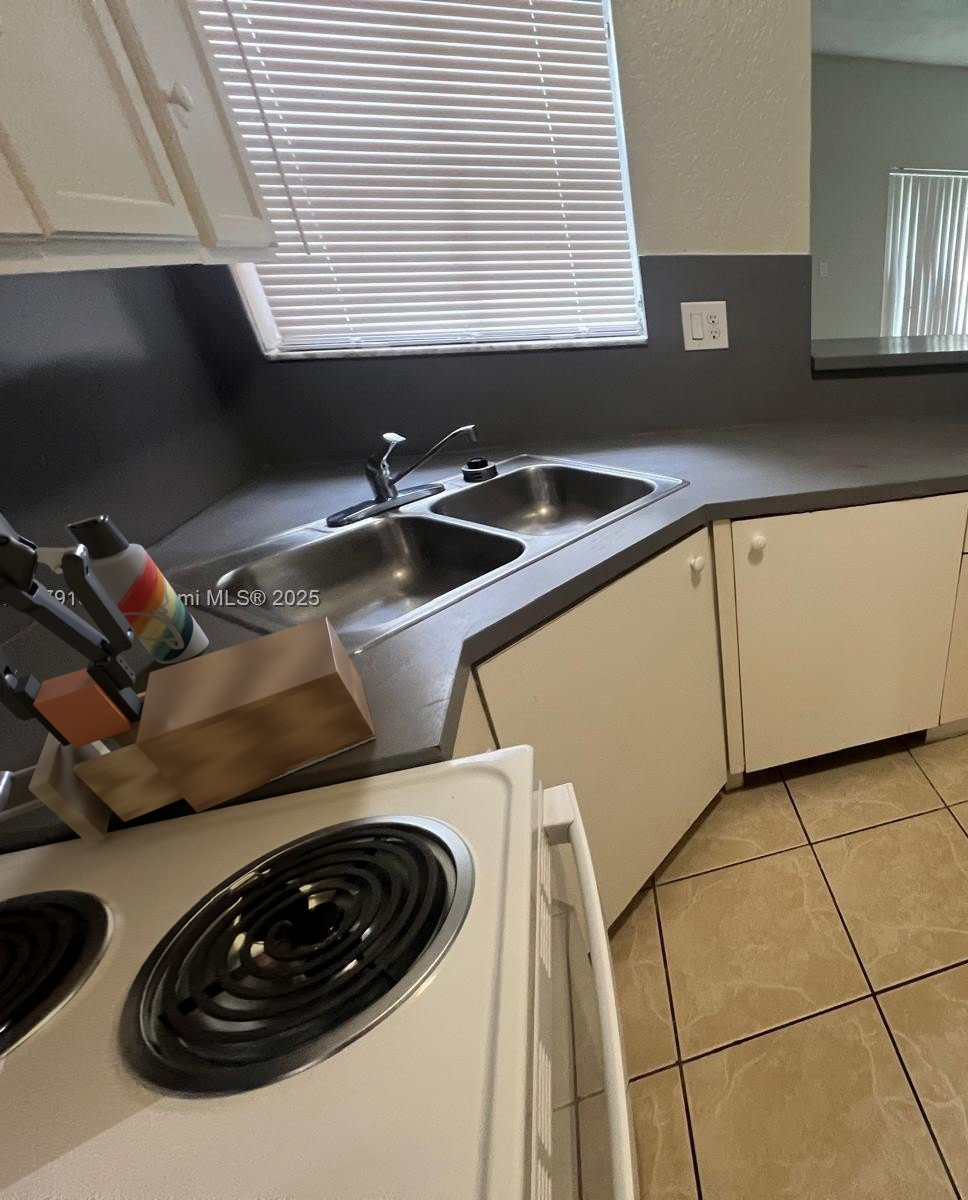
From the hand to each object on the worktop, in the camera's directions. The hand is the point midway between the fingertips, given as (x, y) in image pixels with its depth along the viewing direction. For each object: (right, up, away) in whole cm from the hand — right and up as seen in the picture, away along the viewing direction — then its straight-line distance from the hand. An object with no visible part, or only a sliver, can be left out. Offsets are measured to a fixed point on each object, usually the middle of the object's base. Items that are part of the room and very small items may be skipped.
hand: (105, 724), depth 60 cm
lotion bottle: (-17, +5, +25) cm, 30 cm away
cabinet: (+9, -4, +10) cm, 14 cm away
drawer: (0, -7, +4) cm, 8 cm away
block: (0, 0, 0) cm, 0 cm away
